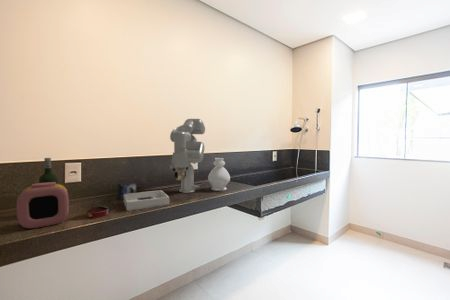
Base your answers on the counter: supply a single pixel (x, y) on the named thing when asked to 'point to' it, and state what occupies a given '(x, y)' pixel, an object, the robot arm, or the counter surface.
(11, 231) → the counter surface
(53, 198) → the alarm clock
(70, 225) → the counter surface
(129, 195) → the walled box
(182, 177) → the plug
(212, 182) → the decorative vase
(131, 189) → the small box
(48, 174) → the wine bottle
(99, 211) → the canned food
